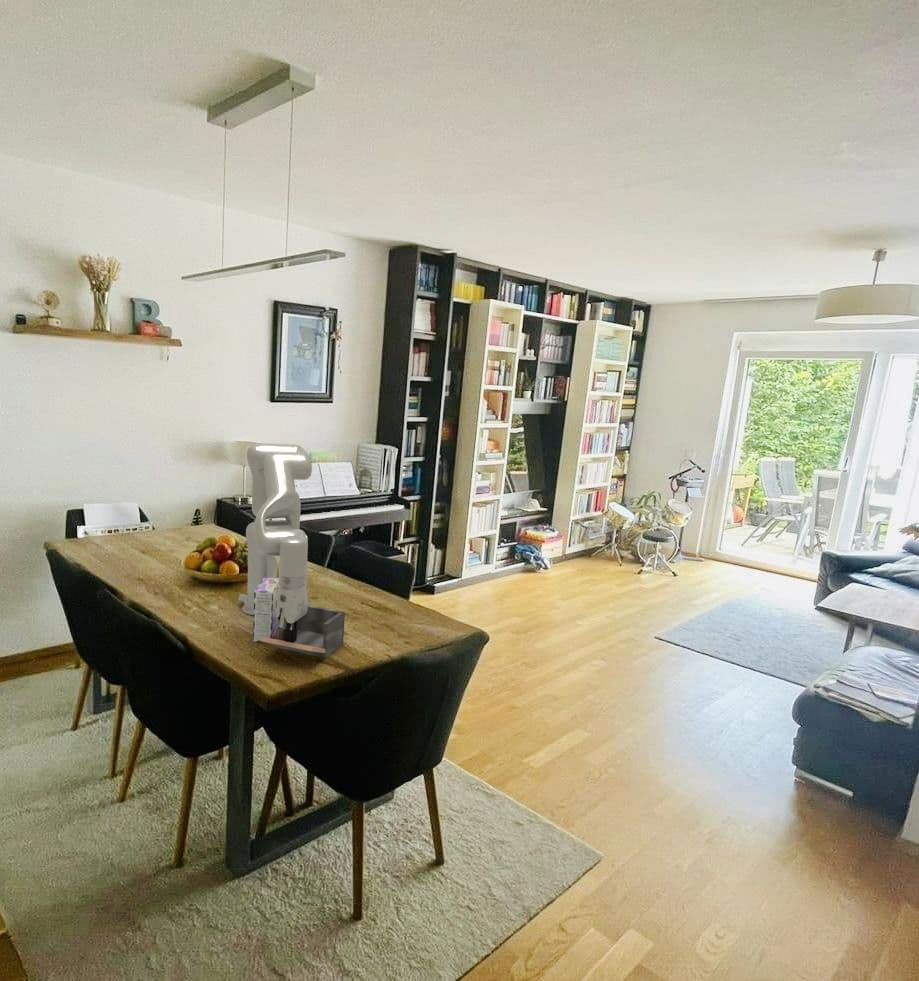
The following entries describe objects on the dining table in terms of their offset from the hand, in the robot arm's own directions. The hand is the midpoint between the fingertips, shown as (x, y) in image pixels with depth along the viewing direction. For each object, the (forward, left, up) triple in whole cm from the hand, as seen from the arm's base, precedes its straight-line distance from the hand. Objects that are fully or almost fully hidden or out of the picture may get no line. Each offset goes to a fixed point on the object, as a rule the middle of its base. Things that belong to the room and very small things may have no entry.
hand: (290, 641), depth 176 cm
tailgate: (0, +6, -4) cm, 7 cm away
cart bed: (0, +12, -6) cm, 13 cm away
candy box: (-17, +15, -7) cm, 23 cm away
